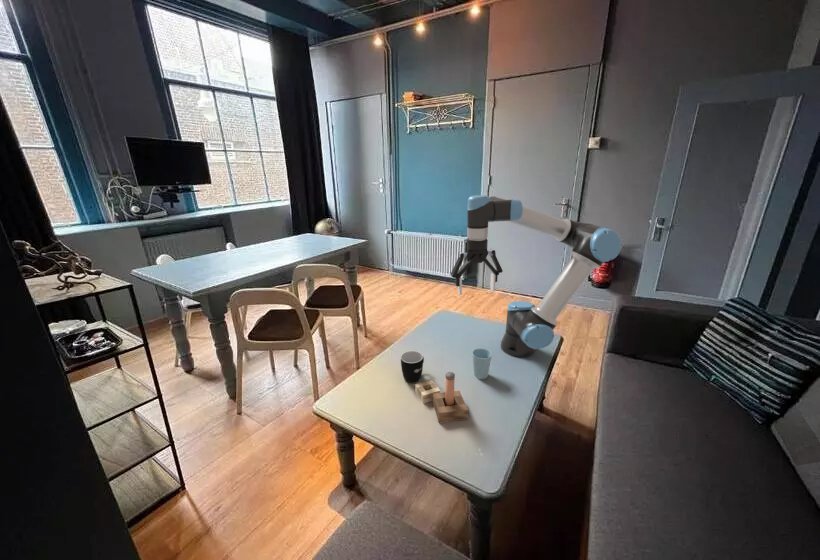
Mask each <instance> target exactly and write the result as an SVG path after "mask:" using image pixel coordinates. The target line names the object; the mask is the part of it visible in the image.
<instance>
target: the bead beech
mask: <svg viewBox="0 0 820 560" xmlns="http://www.w3.org/2000/svg"><path fill="white" fill-rule="evenodd" d="M414 386H415V389H414V390H415V394H416V395H417V397H418V399H420V401H421V403H422V404H425V403H426V404H427V403H429V402H433V394H435V393H441V389H440V388H439V387H438V385H436V383H435V382H434V381H433V379H430V380H427V381H423V382H420V383H416V384H415V385H414Z"/></svg>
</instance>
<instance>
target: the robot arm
mask: <svg viewBox="0 0 820 560" xmlns="http://www.w3.org/2000/svg"><path fill="white" fill-rule="evenodd" d="M466 210H467V211H466V212H467V213H466V215H467V218H466V219H467V221H466V222H467V224H466V225H467V227H466V229H467V231H466V232H467V233H466V234H467V235H466V236H467V240H466V249H467V250H466V252H462V251H459V252H458V257H457V260H456V262H455V264H454V265H453V268H452V270H451V272H450V276H451V277H452V278H453V279H455V282H454V284H455V286H456V287H457V293H458V295H460V296H462V293H463V279H462V276H463V275H464V273H465V272H466V271H467V269H468V268H469V267H470V266H471V265H472V264H485V266H486V267H488V269H490V271H491V273H490V285H489V286H490V287H489V289H490V290H491V291H493V292H495V291H496V283H497V282H498V276H499V275H500V273H501V274H502V272H504V271H503V267H501V264H500V261H499V259H498V258H497V256H496V250H495V249H493V248H490V249H489V250H488V242H489V241H488V240H489V239H488V238H489V223H493V222H508V223H511V224H514V225H517V226H520V227H523V228H525V229H526V228H527V229H530V230H532V231H535V232H538V233H539V234H540V233H541V234H544V235H546V236H550V237H552V238H554V239H555V240H556V241H557V242H560V243H563V244H564V245H566V246H568V247H571V248H572V251H571V256H572V258H571V259H570V261H568V263H567V264H566V266H565V267H564V269H563V270H562V271H561V273H560V274H559V276H558V277H557V279H556V280H555V281H554V283H553V284H552V286H551V287H550V288H549V290H548V291H547V292H546V294H545V295H544V297H543V298H542V299H541V301H540V302H539V304H538V305H535V304H534V303H533V302H530V301H524V300H523V301H522V300H515V301H512V302H510V303H508V306H507V309H506V311H507V312H506V324H505V333H504V335H503V337H502V338H501V339H502V340H500V341H501V342H500V349H501V351H503V352H504V353H505V354H507V355H510V356H513V357H518V358H525V357H530V356H532V355H534V353H535V350H540V349H545V348H546V347H548V346H550V344H552V342H553V341H554V338H555V331H554V329H555V328H556V327H557V325H558V322H557V318H558V317H559V316H560V314H561V313H562V312H563V311H564V310H565V308H566V307H567V305H568V304H569V303H570V301H571V300H572V299H573V297H574V296H575V294H576V293H577V292H578V290H579V289H580V288H581V287H582V285H583V283H584V282H585V281H586V280H587V278H588V277H589V275H590V274H591V273H592V271H594V269H598V268H601V267H602V265H603V264H604V263H605V262H606V263H607V262H609V261H612V260H614V259H616V258H617V256H618V255H619V254H620V252H621V249H622V239H621V237H620V235H619V233H618V232H617V231H615V230H613V229H611V228H608V227H604V226H600V225H596V224H594V223H588V222H581V221H576V220H571V219H569V218H564V219H561V218H557V217H555V216H552V215H550V214H546V213H544V212H541V211H537V210H535V209H532V208H529V207H526V206H524V205H523V203H522V201H521V200H520V199H514V198H513V199H505V198H500V197H498V196H489V195H483V194H482V195H470V196H469V197H468V199H467V206H466ZM488 256H490V258H491V260H492V262H493V264H491V262H490V261H489V260H488V259H487V257H488ZM466 257H467V258H466ZM464 259H466V260H465V262H464ZM463 262H464V263H463ZM462 263H463V265H462ZM493 265H494V266H493Z"/></svg>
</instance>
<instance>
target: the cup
mask: <svg viewBox="0 0 820 560" xmlns="http://www.w3.org/2000/svg"><path fill="white" fill-rule="evenodd" d="M471 354H472V366H473V368H472V369H473V376H474V377H475V378H476V379H479V380H485V379H487V378H488V375H489V372H490V371H489V370H490V366H491V360H492V354H493V353H492V351H490V350H489V349H486V348H482V347H481V348H480V347H479V348H475V349H473V350H472V353H471Z"/></svg>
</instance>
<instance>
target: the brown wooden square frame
mask: <svg viewBox="0 0 820 560" xmlns="http://www.w3.org/2000/svg"><path fill="white" fill-rule="evenodd" d="M432 406H433V409H434V411H435V415H436V419H437V422H438V423H447V422H448V423H449V422H457V421H463V420H468V416H469V415H468V414H469V409H468V406H467V404H466V402H465V400H464V398H463V396H462V394H461V391H460V390H454V405H453V406H445V391H444V392H440V393H435V394H433V401H432Z"/></svg>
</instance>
